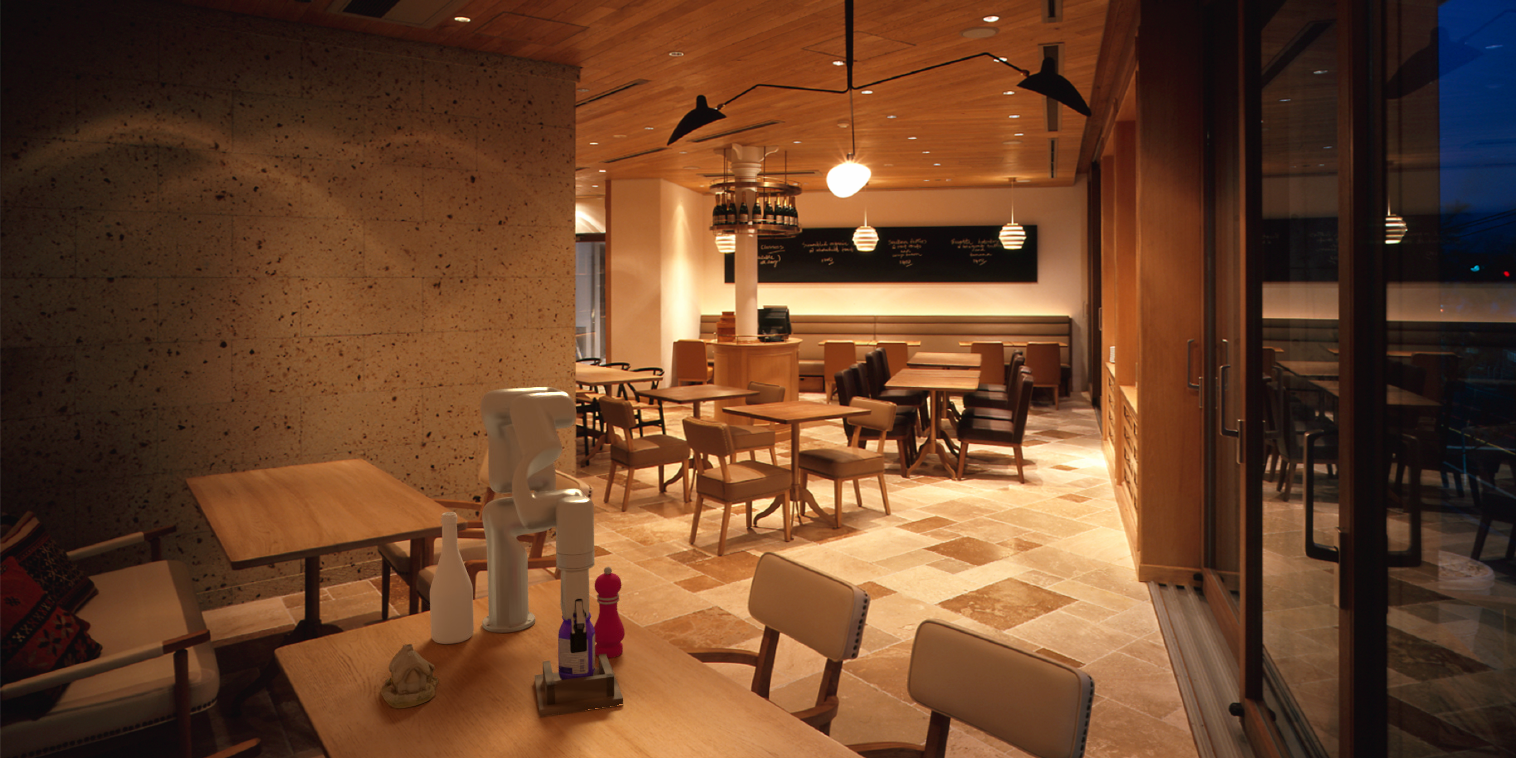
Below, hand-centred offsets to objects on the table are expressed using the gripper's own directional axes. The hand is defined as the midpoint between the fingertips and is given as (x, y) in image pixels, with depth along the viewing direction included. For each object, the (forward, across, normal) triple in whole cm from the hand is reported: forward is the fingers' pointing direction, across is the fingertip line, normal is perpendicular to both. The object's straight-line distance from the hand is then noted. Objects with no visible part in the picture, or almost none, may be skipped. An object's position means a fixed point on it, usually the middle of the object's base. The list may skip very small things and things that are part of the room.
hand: (576, 644), depth 174 cm
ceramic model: (+11, -11, -32) cm, 36 cm away
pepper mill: (+11, -18, +9) cm, 23 cm away
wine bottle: (+11, -38, -25) cm, 47 cm away
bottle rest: (+10, 0, 0) cm, 10 cm away
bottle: (+7, 0, 0) cm, 7 cm away
